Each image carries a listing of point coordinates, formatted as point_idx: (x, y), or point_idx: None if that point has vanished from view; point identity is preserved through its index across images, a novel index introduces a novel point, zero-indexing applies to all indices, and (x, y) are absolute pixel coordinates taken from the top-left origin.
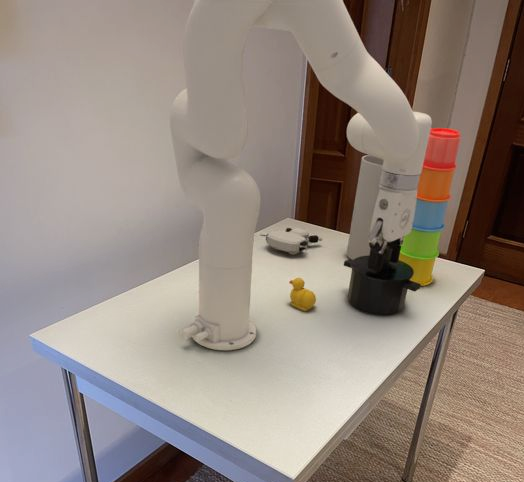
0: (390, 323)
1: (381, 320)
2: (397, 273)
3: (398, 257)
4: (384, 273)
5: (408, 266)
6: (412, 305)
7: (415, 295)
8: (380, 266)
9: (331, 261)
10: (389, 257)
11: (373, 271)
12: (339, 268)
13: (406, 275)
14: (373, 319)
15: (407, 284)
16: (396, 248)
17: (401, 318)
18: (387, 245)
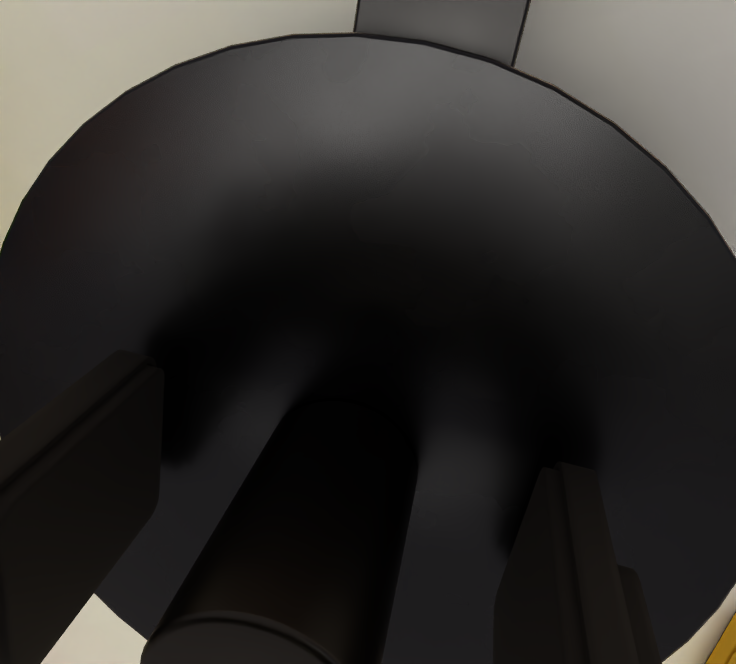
0: (723, 65)
1: (703, 154)
2: (415, 253)
3: (90, 386)
4: (528, 400)
5: (70, 193)
6: (259, 14)
7: (70, 58)
8: (597, 525)
9: (55, 654)
10: (323, 512)
11: None
12: (100, 603)
13: (395, 115)
14: (718, 217)
15: (518, 35)
16: (31, 524)
17: (567, 11)
18: (38, 654)
